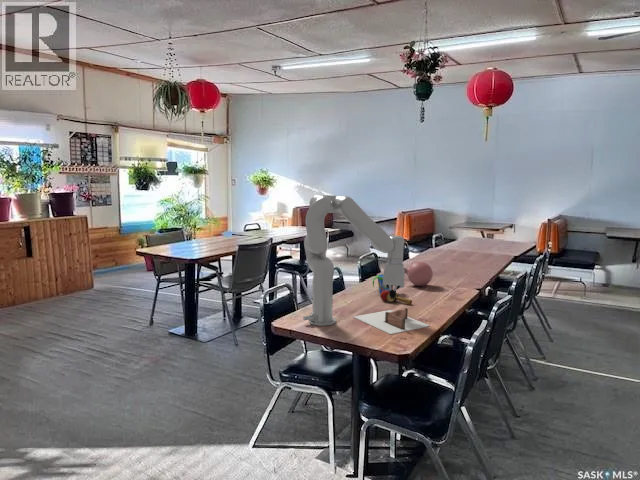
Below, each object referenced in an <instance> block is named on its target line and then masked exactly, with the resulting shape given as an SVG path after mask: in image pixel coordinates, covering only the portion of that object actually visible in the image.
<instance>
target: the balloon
mask: <svg viewBox="0 0 640 480" xmlns="http://www.w3.org/2000/svg"><path fill="white" fill-rule="evenodd" d="M404 274H406V275H407V278H408V280H409V281H410V283H411V284H412V285H414V286H417V287H424V286H427V285H428V284H429V283H430V282H431V281H432V279H433V269H432V267H431V266H430V265H429V264H428V263H426V262H425V261H416V262H413V263H412V264H411V265H409V266H407V267H404Z"/></svg>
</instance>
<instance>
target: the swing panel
mask: <svg viewBox="0 0 640 480" xmlns="http://www.w3.org/2000/svg"><path fill="white" fill-rule="evenodd" d="M408 309H409V308H407V307H404V309H403V308H402V309H397V310H392V311H393V312H389V313H390V314H392V315H395V316H397V317H400V318H407V317H408V314H409V313H408Z"/></svg>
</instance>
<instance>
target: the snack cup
mask: <svg viewBox="0 0 640 480" xmlns="http://www.w3.org/2000/svg"><path fill="white" fill-rule="evenodd" d="M383 274H384V273H382V274H377V275H376V276H375V277H374V278H373V279H372V287H373V288H375V280H376V279H377V284H378V285H377V286H378V292H379V293H380V294H381V292H382V291H384V290H387V291H389V292H390V290H389V289H388V287H386V286H383V285H382V284H383ZM392 288H393V289H394V285H392Z"/></svg>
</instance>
